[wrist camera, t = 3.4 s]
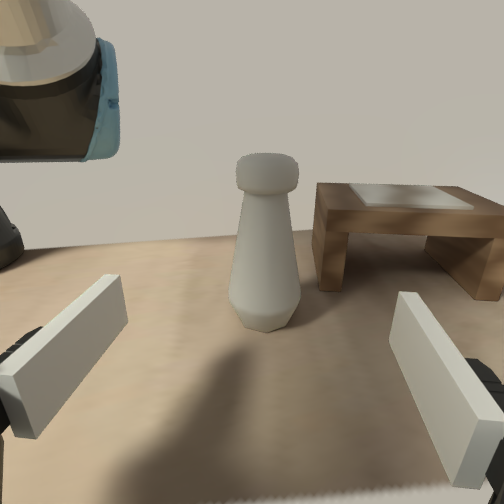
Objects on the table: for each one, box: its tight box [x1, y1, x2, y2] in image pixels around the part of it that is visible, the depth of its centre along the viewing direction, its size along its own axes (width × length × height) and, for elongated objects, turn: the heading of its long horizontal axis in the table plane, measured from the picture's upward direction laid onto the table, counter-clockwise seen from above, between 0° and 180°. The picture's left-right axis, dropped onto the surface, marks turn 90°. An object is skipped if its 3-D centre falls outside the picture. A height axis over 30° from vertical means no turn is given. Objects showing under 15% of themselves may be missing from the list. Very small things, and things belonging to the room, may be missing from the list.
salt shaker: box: [229, 153, 301, 333], centre depth 24 cm, size 6×6×13 cm
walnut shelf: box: [312, 183, 504, 301], centre depth 34 cm, size 16×12×8 cm
